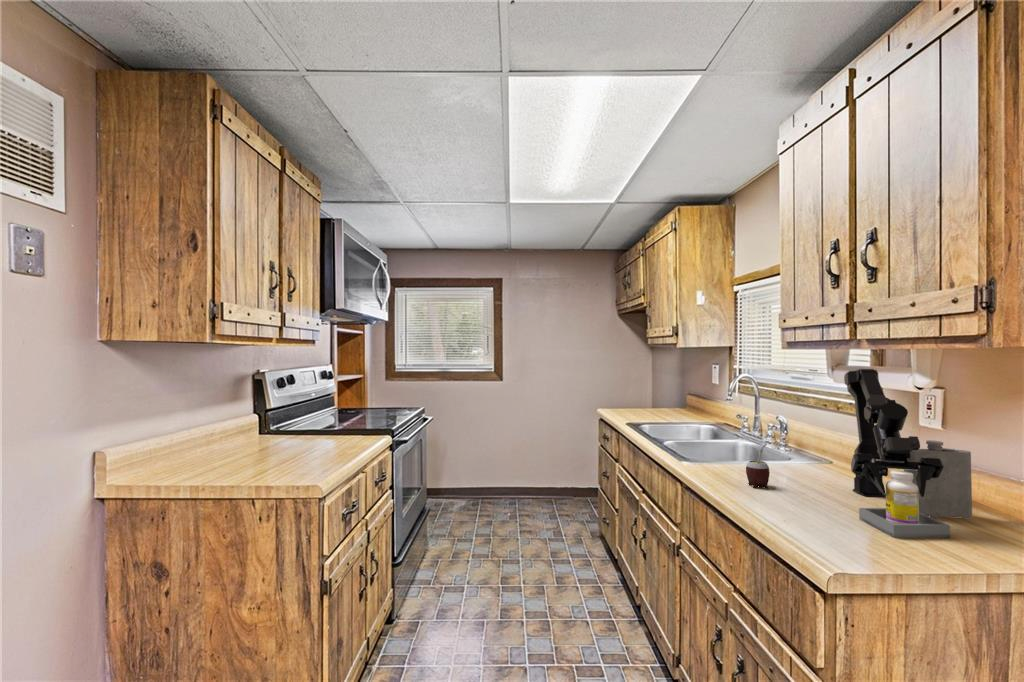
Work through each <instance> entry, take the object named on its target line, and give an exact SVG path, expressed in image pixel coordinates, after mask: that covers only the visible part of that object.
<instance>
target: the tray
mask: <svg viewBox="0 0 1024 682" xmlns="http://www.w3.org/2000/svg"><path fill="white" fill-rule="evenodd" d="M858 515H859V517H858V519H859V521H862V522H863V523H865V524H867V525H869V526H870V527H873V528H875V529H876V530H878V531H880V532H883V533H885V534H886V535H888V536H889V537H891V538H893V539H903V538H904V539H951V525H950V524H947V523H945V522H943V521H941V520H938V519H936V518H935V517H929V516H927V515H925V514H922V513H920V512H919V524H894V523H892V522H890V521H888V520H886V507H859V508H858Z"/></svg>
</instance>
